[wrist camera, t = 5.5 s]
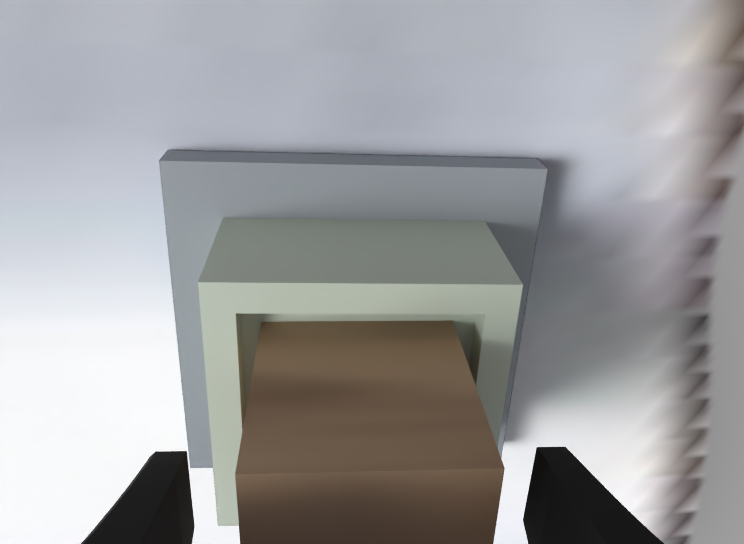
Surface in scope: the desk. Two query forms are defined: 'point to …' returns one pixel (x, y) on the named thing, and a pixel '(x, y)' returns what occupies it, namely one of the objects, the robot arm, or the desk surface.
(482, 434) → the walnut block
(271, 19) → the desk surface
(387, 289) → the socket base
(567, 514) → the robot arm
